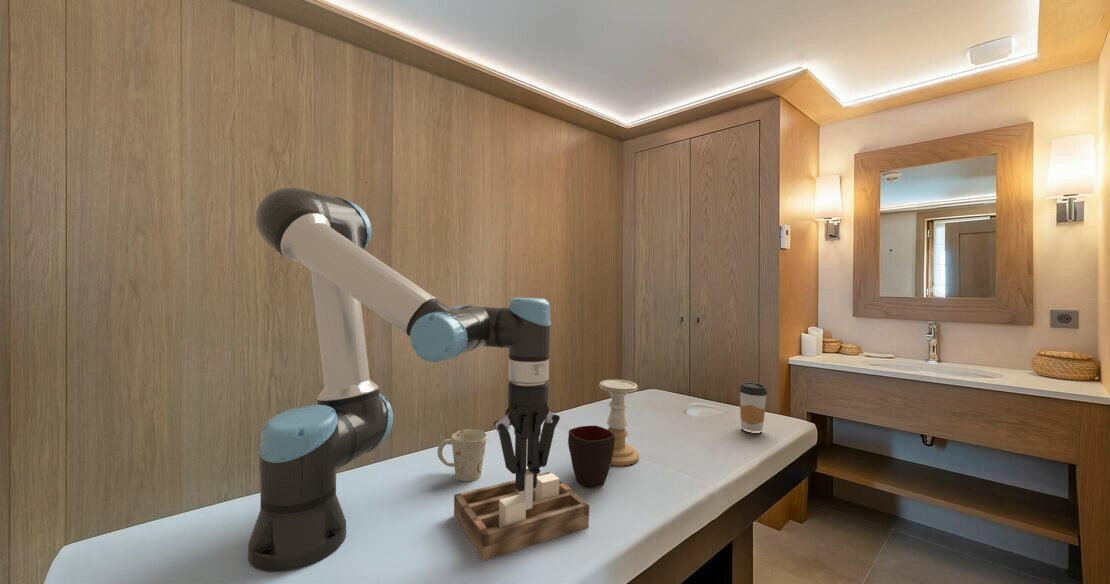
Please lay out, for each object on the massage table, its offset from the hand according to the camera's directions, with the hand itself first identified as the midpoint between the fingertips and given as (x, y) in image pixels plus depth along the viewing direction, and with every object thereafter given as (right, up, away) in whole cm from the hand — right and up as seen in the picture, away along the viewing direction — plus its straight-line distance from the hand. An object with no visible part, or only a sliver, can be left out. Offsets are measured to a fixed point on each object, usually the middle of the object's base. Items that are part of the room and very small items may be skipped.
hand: (525, 505), depth 82 cm
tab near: (-2, -3, -1) cm, 4 cm away
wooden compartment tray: (-1, -6, +5) cm, 8 cm away
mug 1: (-18, -5, +25) cm, 31 cm away
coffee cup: (+70, -6, +61) cm, 93 cm away
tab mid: (+4, -3, +8) cm, 10 cm away
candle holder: (+22, -5, +38) cm, 44 cm away
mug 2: (+13, -6, +24) cm, 28 cm away
